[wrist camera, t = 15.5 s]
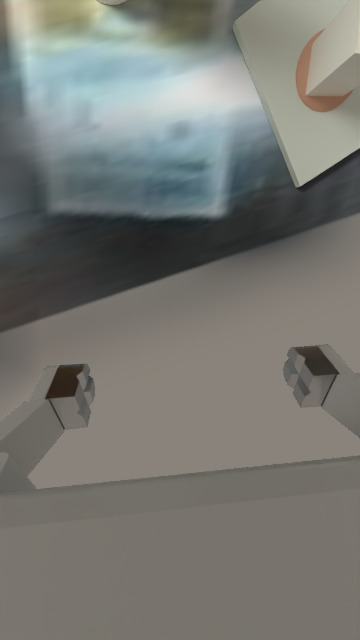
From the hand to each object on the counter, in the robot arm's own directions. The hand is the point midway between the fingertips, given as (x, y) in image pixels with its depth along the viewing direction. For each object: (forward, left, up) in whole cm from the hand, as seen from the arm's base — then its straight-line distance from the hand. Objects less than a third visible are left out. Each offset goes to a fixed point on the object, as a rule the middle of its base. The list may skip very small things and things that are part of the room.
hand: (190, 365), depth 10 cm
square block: (-8, +26, -26) cm, 38 cm away
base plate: (-8, +26, -28) cm, 39 cm away
